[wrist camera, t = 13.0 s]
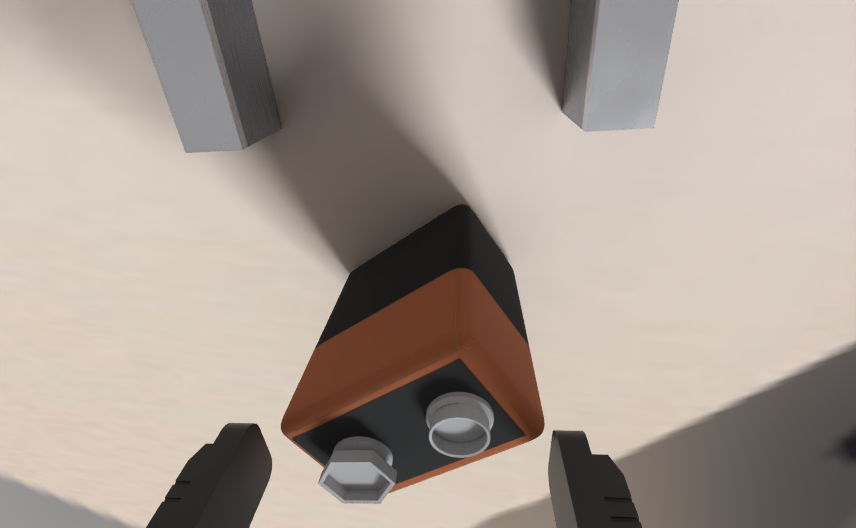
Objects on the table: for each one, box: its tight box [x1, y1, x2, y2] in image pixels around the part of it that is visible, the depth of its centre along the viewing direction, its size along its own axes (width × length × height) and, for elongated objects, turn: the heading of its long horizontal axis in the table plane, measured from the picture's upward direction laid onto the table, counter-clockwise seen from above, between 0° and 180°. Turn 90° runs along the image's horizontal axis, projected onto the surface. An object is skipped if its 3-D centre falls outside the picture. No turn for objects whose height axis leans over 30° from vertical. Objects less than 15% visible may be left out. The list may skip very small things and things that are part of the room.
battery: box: [281, 205, 544, 504], centre depth 15 cm, size 4×7×10 cm, turn 125°
